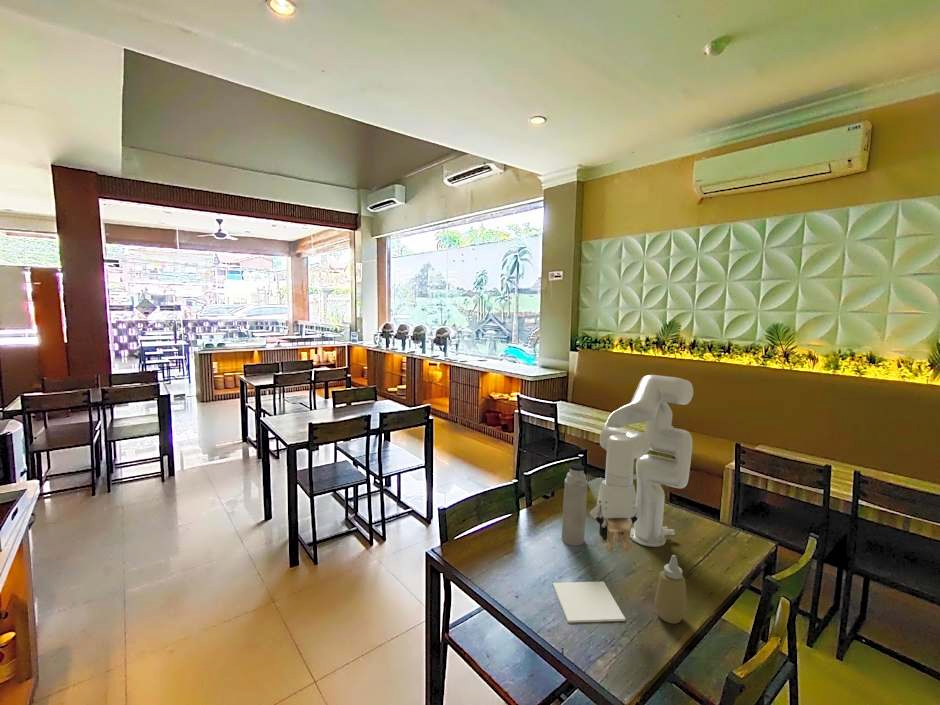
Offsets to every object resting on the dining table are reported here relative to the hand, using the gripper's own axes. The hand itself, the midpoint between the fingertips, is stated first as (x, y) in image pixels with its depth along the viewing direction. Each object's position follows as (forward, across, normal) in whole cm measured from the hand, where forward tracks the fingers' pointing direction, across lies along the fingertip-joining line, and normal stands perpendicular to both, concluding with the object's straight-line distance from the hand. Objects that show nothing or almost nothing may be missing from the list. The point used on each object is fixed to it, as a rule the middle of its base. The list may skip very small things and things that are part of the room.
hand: (614, 537), depth 130 cm
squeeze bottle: (+18, -13, +10) cm, 24 cm away
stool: (+3, 0, 0) cm, 3 cm away
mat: (+18, +8, +2) cm, 20 cm away
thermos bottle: (+18, +1, -31) cm, 36 cm away
